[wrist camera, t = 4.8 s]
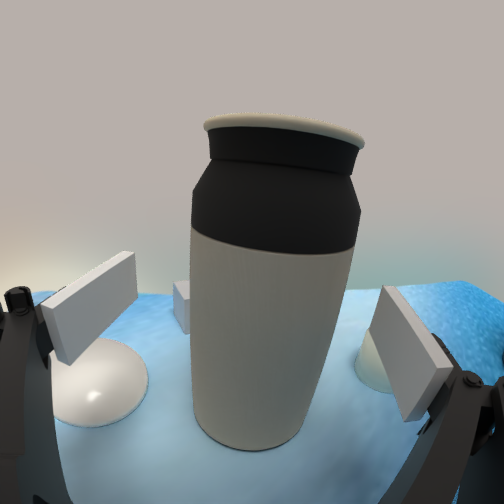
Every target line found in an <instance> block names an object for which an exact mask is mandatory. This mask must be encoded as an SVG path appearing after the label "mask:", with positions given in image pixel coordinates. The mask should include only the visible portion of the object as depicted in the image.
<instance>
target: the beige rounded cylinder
mask: <svg viewBox="0 0 504 504" xmlns="http://www.w3.org/2000/svg"><path fill="white" fill-rule="evenodd" d="M369 328H370V327H369ZM369 328H368V329H367V331H366V334H365V337H364V340H363V342H362V345H361V348H360V351H359V353H358V356H357V358H356V361H355V366H354V367H355V372H356V374H357V376H358V377H359V379H360V380H361V381H362V382H363V383H364V384H366V385H367V386H368V387H370V388H372V389H374V390H376V391H379V392H382V393H388V394H394V393H393V390H392V387H391V384H390V382H389V379H388V377H387V374H386V371H385V369H384V366H383V364H382V361H381V359H380V356H379V354H378V351H377V349H376V347H375V344H374V342H373V339H372V337H371V335H370V332H369Z"/></svg>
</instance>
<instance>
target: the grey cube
mask: <svg viewBox="0 0 504 504" xmlns="http://www.w3.org/2000/svg"><path fill="white" fill-rule="evenodd" d="M173 301H174V315H175V317H176V319H177V321H178V323H179V324H180V326H181V328H182V330H183V332H184V334H190V280H184V281H174V282H173Z"/></svg>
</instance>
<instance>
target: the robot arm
mask: <svg viewBox="0 0 504 504" xmlns="http://www.w3.org/2000/svg"><path fill="white" fill-rule="evenodd" d="M4 297H5V301H6V304H7V308H8V311H9V312H3V309H2V305H1V303H0V504H73V502H72V501H71V499H70V497H69V495H68V492H67V488H66V484H65V480H64V476H63V472H62V467H61V462H60V457H59V451H58V445H57V439H56V431H55V423H54V413H53V400H52V374H51V357H50V354H49V353H51V352H52V351H53V350H54V351H55V354H56V357H57V360H58V361H60V362H62V363H64V364H66V365H68V366H71V365H72V364H73V363H74V362H75V361H76V360H77V359H78V358H79V357H80V355H81V354H82V353H83V352H84V351H85V350H86V349H87V348H88V347H89V346H90V345H91V344H92V343H93V342H94V341H95V340H96V339H97V338H98V337H99V336H100V335H101V334H102V333H103V332H104V331H105V330H106V329H107V328H108V327H109V326H110V325H111V324H112V323H113V322H114V321H115V320H116V319H117V318H118V317H119V316H120V315H121V314H122V313H123V312H124V311H125V310H126V309H127V308H128V307H129V306H130V305H131V304H132V303H133V302H134V301H135V300H136V299H137V298H138V292H137V280H136V265H135V253H134V252H128V251H123V252H121V253H119V254H117V255H116V256H114V257H112V258H111V259H109V260H108V261H106V262H104V263H102V264H101V265H99V266H97V267H96V268H94V269H93V270H91V271H89V272H88V273H86V274H85V275H83V276H82V277H80V278H78V279H77V280H75V281H74V282H72V283H71V284H69V285H68V286H65V287H63V288H62V289H60V290H59V291H58V292H56V293H54V294H53V295H52V296H50V297H48V298H47V299H45V300H44V301H43V302H41V303H40V304H38V305H37V306H35V307H34V303H33V299H32V295H31V291H30V289H29V288H28V287H25V286H19V287H15V288H12V289H10V290H8V291H7V292H6V293H5V294H4ZM369 332H370V335H371V337H372V339H373V342H374V344H375V347H376V349H377V351H378V354H379V356H380V359H381V361H382V364H383V366H384V369H385V371H386V374H387V377H388V379H389V382H390V384H391V387H392V390H393V393H394V395H395V398H396V401H397V404H398V406H399V409H400V412H401V415H402V418H403V421H404V422H410V421H418V420H420V419H421V418H422V417H423V415H424V414H425V412H426V411H427V410H428V412H429V415H430V418H429V419H428V420H427V422H426V423H425V424H424V426H423V427H422V428H421V430H420V431H419V432H418V433H417V435H420V436H419V438H418V440H417V442H416V443H415V445H414V447H413V449H412V451H411V453H410V454H409V456H408V458H407V460H406V461H405V463H404V465H403V467H402V468H401V470H400V471H399V473H398V475H397V476H396V478H395V479H394V481H393V482H392V484H391V485H390V487H389V488H388V490H387V491H386V493H385V494H384V496H383V497H382V498H381V500H380V501H379V502H378V504H451V503H452V501H453V499H454V497H455V494H456V492H457V489H458V487H459V484H460V487H459V493H458V499H457V504H504V376H502V377H499V379H498V380H497V382H496V383H495V385H494V386H489V385H484V383H483V381H482V379H481V378H480V377H479V376H478V375H477V374H475V373H473V372H471V371H463V370H462V369H461V367H460V366H459V364H458V363H457V362H456V360H455V359H454V357H453V356H452V354H450V351H449V350H448V349H447V348H446V346H445V344H444V343H443V342H442V340H441V339H440V338H438V337H437V336H436V335H435V334H433V333H430V332H429V330H428V329H427V327H426V326H425V325H424V323H423V322H422V321H421V319H420V318H419V316H418V315H417V314H416V312H415V311H414V310H413V309H412V307H411V306H410V305H409V303H408V302H407V301H406V299H405V298H404V297H403V296H402V294H401V293H400V292H399V291H398V289H397V288H396V287H395V286H386V285H383V286H382V289H381V293H380V296H379V299H378V303H377V306H376V309H375V312H374V316H373V319H372V322H371V325H370V328H369ZM503 361H504V353H503ZM494 427H495V430H494V433H493V435H492V429H493V428H494Z"/></svg>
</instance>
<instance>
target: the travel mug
mask: <svg viewBox="0 0 504 504" xmlns="http://www.w3.org/2000/svg"><path fill="white" fill-rule="evenodd" d="M204 129H205V131H207V132H208V137H209V146H210V159H212V160H211V162H210V163H209V165H208V166H207V168H206V170H205V171H204V173H203V175H202V176H201V178H200V180H199V181H198V183H197V185H196V186H195V188H194V190H193V197H192V214H191V242H190V350H191V374H192V391H193V406H194V414H195V417H196V419H197V421H198V423H199V425H200V426H201V428H202V429H203V430H204V431H205V432H206V433H207V434H208V435H209V436H211V437H212V438H213V439H215V440H216V441H218V442H220V443H222V444H224V445H227V446H230V447H233V448H237V449H242V450H264V449H269V448H273V447H276V446H278V445H281V444H283V443H285V442H286V441H288V440H289V439H291V438H292V437H293V436H294V435H295V434H296V433H297V432H298V431H299V429H300V428H301V426H302V424H303V421H304V419H305V416H306V414H307V411H308V408H309V406H310V403H311V400H312V398H313V395H314V392H315V389H316V386H317V384H318V381H319V378H320V375H321V372H322V369H323V366H324V363H325V360H326V356H327V353H328V350H329V347H330V343H331V340H332V337H333V333H334V330H335V326H336V323H337V319H338V315H339V312H340V308H341V304H342V300H343V296H344V292H345V288H346V283H347V280H348V274H349V271H350V266H351V261H352V256H353V252H354V247H355V242H356V237H357V231H358V226H359V221H360V215H361V209H360V206H359V202H358V199H357V196H356V193H355V190H354V187H353V184H352V181H351V178H350V175H352V172H353V168H354V164H355V160H356V157H357V154H358V152H359V150H360V149H362V148H363V147H364V144H365V142H364V140H363V138H362V137H361V136H360V135H359V134H357V133H355V132H353V131H351V130H349V129H346V128H344V127H341V126H338V125H335V124H331V123H328V122H324V121H319V120H315V119H310V118H304V117H298V116H291V115H281V114H269V113H235V114H224V115H219V116H214V117H211V118H209V119H207V120H206V121H205V123H204Z"/></svg>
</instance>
